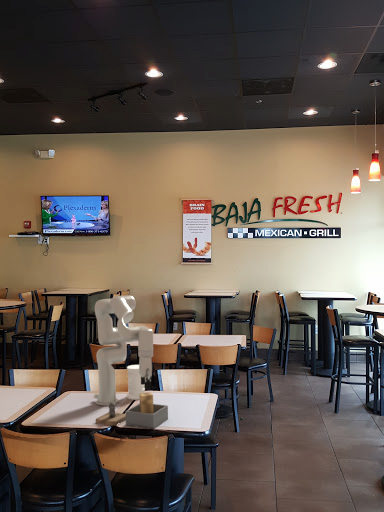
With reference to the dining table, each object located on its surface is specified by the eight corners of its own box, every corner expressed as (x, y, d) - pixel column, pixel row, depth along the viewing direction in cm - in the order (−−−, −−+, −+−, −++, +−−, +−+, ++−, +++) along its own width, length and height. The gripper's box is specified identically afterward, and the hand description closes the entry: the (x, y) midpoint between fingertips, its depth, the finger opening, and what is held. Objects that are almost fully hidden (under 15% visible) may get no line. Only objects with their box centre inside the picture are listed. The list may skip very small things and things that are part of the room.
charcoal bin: (125, 425, 242) (125, 411, 242) (141, 415, 256) (141, 402, 256) (153, 429, 236) (153, 414, 236) (168, 419, 250) (167, 405, 250)
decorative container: (122, 398, 290) (122, 367, 290) (134, 393, 300) (133, 364, 300) (139, 400, 284) (138, 369, 284) (150, 395, 295) (149, 365, 295)
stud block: (95, 423, 247) (95, 404, 247) (108, 415, 258) (108, 398, 258) (116, 425, 242) (115, 406, 242) (128, 418, 253) (128, 400, 253)
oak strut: (142, 422, 243) (141, 396, 243) (139, 418, 249) (139, 393, 249) (153, 421, 245) (153, 395, 245) (151, 417, 250) (150, 392, 250)
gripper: (135, 350, 254) (135, 382, 254) (141, 357, 237) (141, 392, 237) (149, 349, 256) (149, 381, 256) (156, 356, 239) (156, 391, 240)
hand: (145, 386), depth 247 cm, fingers open, 9 cm apart
